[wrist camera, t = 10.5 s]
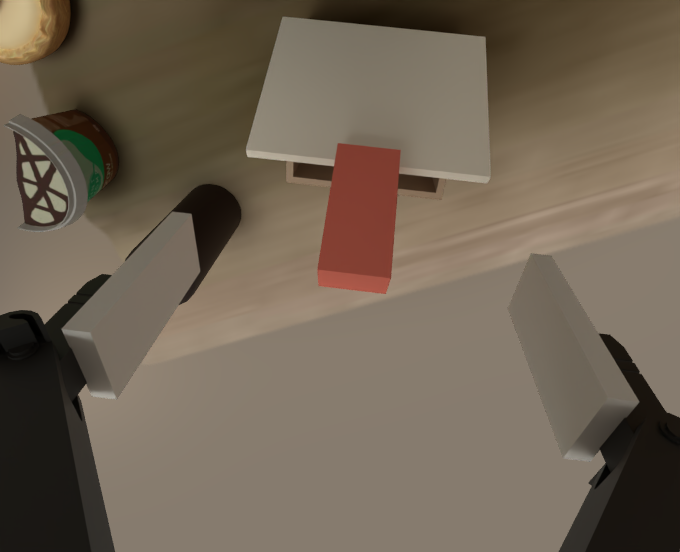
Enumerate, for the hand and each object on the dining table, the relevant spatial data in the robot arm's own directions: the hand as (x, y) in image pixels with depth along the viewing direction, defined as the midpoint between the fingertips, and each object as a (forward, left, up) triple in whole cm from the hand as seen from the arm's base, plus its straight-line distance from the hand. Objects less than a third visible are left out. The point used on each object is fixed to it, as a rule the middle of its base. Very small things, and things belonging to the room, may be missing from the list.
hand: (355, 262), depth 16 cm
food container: (+10, -31, -31) cm, 45 cm away
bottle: (+15, -18, -31) cm, 39 cm away
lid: (-1, 0, -12) cm, 12 cm away
